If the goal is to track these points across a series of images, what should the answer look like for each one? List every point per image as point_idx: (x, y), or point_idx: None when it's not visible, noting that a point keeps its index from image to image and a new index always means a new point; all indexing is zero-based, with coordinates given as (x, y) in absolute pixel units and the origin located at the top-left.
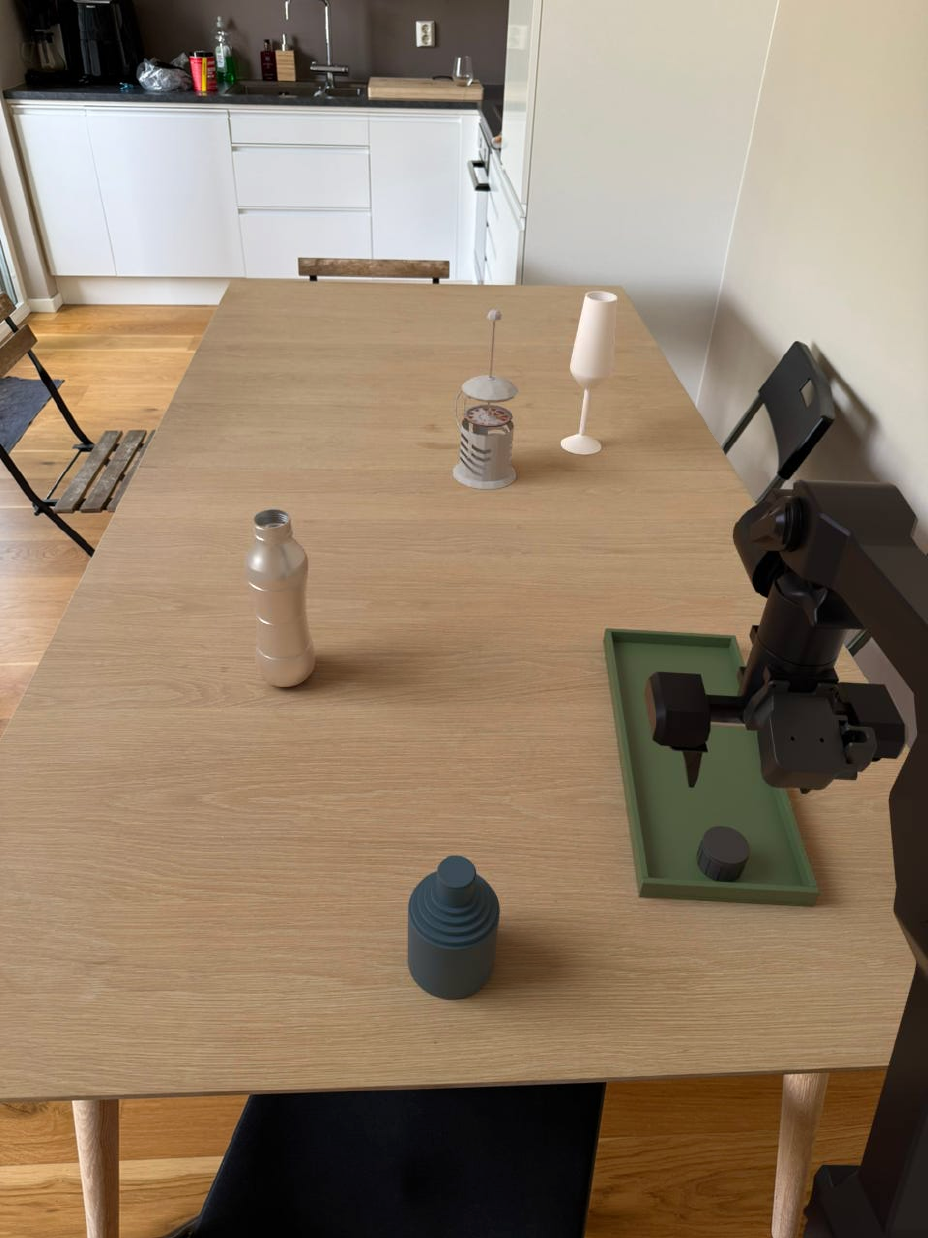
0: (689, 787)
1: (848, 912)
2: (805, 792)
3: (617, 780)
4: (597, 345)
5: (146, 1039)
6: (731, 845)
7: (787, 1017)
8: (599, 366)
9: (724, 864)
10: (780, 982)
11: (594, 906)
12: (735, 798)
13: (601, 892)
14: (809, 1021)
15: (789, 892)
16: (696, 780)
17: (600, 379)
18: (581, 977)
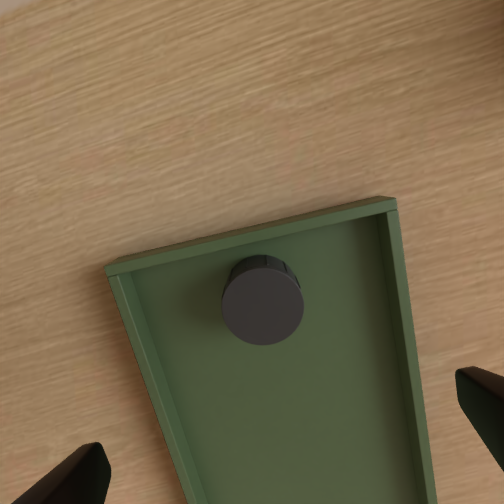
0: (472, 366)
1: (69, 263)
2: (82, 450)
3: None
4: None
5: None
6: (253, 307)
7: (144, 43)
8: None
9: (263, 267)
10: (158, 105)
11: (450, 156)
12: (242, 413)
13: (439, 186)
14: (111, 46)
15: (151, 254)
16: (495, 392)
17: None
18: (469, 10)
